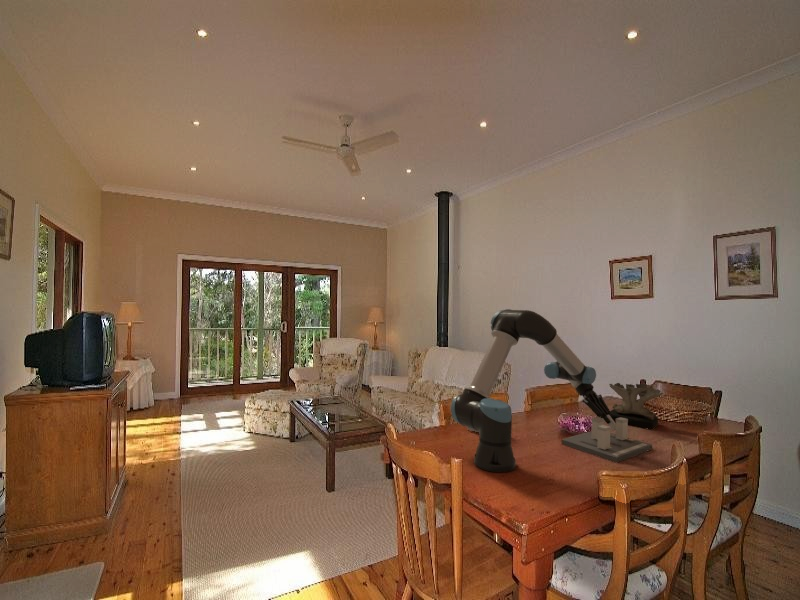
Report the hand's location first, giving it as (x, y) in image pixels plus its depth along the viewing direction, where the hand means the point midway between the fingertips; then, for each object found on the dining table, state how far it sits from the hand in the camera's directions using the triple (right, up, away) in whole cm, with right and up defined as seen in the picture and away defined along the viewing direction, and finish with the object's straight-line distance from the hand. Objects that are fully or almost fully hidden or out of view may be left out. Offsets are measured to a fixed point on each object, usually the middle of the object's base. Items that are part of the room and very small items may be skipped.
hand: (615, 429), depth 180 cm
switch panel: (-7, -6, -6) cm, 11 cm away
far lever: (+1, -3, -3) cm, 4 cm away
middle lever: (-9, -3, -3) cm, 10 cm away
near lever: (-13, -3, -14) cm, 19 cm away
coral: (+23, -7, +27) cm, 37 cm away
